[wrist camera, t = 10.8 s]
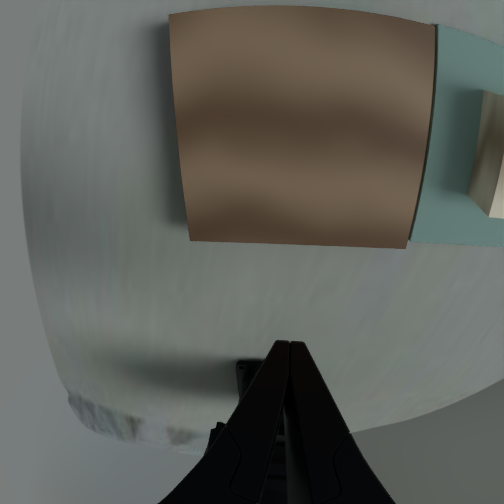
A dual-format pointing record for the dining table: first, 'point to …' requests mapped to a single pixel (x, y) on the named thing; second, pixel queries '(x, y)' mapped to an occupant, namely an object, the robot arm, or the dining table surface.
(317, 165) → the walnut board
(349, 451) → the robot arm
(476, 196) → the birch tile
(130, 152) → the dining table surface
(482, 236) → the rubber mat
